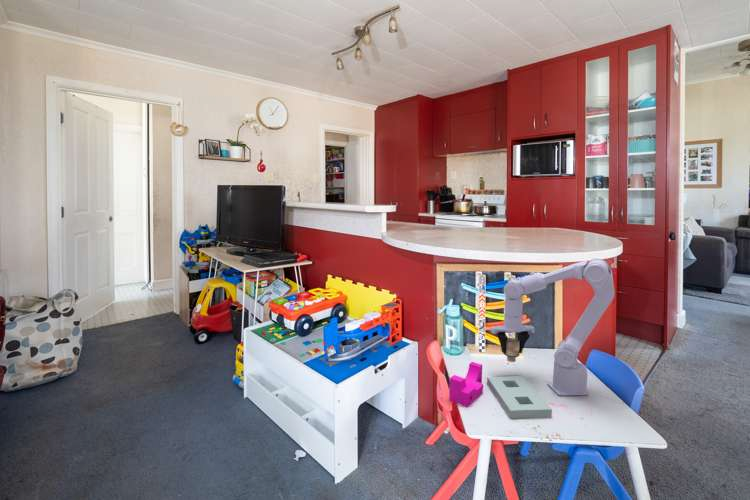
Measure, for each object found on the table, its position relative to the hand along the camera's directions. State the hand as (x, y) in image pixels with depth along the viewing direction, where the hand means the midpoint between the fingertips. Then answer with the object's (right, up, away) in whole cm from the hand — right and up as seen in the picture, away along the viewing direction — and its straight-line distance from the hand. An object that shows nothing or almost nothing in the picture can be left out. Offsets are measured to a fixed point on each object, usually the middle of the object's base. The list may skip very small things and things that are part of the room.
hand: (511, 352), depth 132 cm
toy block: (-17, -11, -10) cm, 23 cm away
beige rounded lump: (0, -3, 0) cm, 3 cm away
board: (-3, -11, -14) cm, 18 cm away
